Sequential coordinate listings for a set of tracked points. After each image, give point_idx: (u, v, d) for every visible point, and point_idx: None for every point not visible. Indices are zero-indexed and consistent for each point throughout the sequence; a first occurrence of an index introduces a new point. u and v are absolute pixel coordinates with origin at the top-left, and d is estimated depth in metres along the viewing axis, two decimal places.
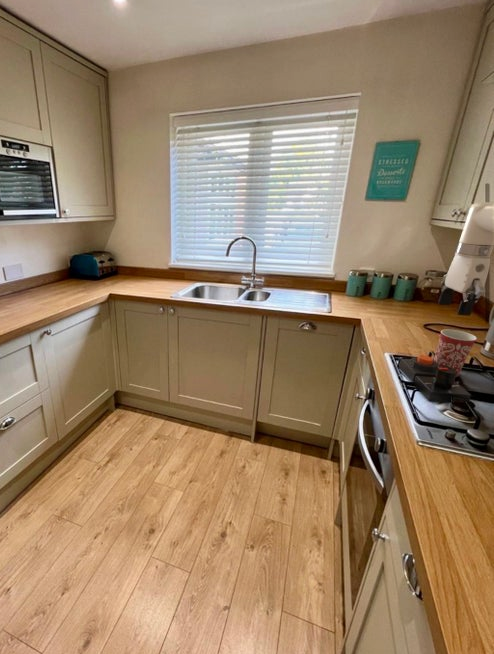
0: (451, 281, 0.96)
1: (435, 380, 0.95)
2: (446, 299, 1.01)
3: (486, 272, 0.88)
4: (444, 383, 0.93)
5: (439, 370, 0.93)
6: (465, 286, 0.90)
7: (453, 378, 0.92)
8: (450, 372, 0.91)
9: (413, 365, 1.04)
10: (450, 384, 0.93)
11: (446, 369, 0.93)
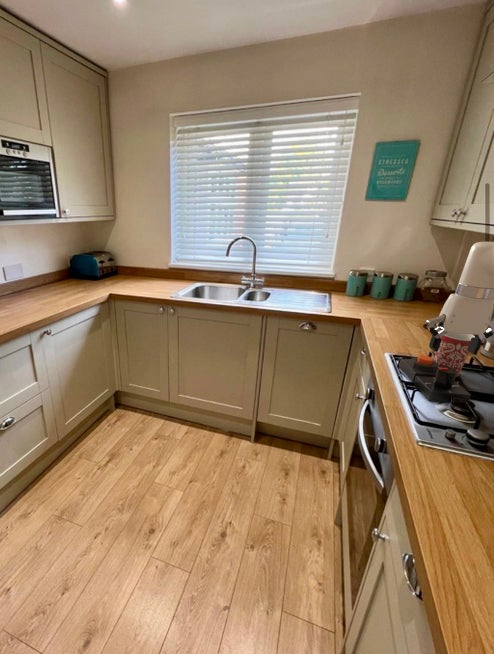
0: (462, 327, 0.87)
1: (435, 380, 0.95)
2: None
3: None
4: (444, 383, 0.93)
5: (439, 370, 0.93)
6: (486, 328, 0.86)
7: (453, 378, 0.92)
8: (450, 372, 0.91)
9: (413, 365, 1.04)
10: (450, 384, 0.93)
11: (446, 369, 0.93)
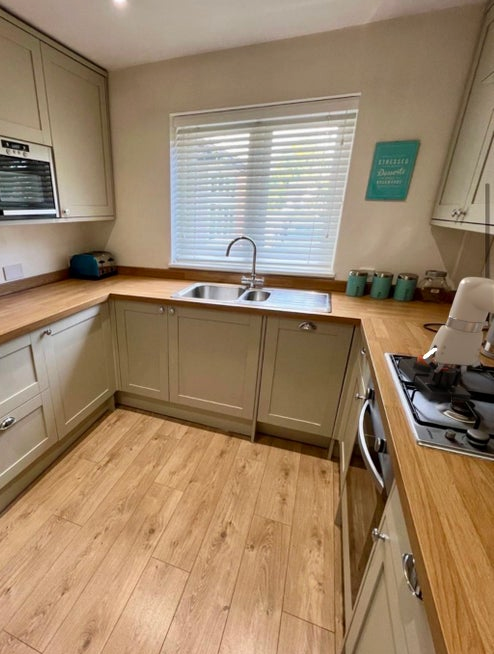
0: (453, 358, 0.89)
1: None
2: None
3: None
4: (444, 383, 0.93)
5: None
6: (476, 359, 0.89)
7: (453, 378, 0.92)
8: (450, 372, 0.91)
9: (413, 365, 1.04)
10: (450, 384, 0.93)
11: (446, 369, 0.93)
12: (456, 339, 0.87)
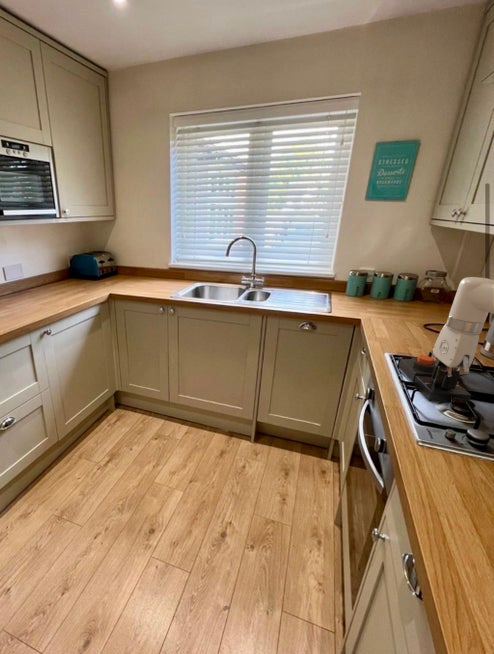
0: None
1: None
2: None
3: None
4: None
5: None
6: None
7: None
8: (456, 370, 0.93)
9: (413, 365, 1.04)
10: None
11: None
12: None
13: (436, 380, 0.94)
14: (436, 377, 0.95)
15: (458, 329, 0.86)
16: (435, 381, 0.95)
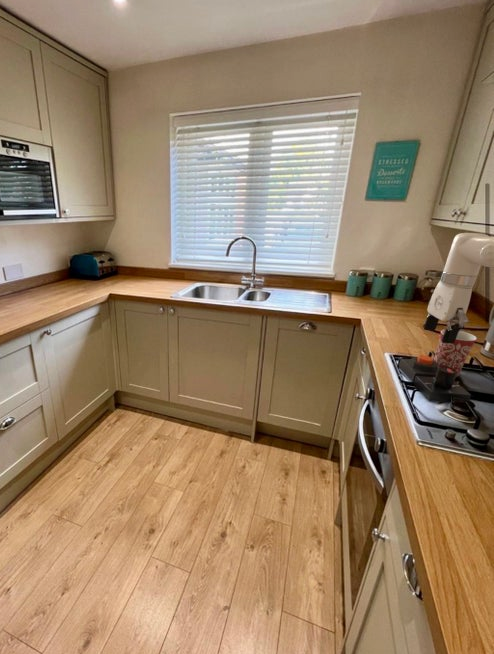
0: None
1: (448, 384, 0.93)
2: None
3: None
4: (453, 382, 0.93)
5: (452, 374, 0.91)
6: None
7: None
8: (456, 370, 0.93)
9: (413, 365, 1.04)
10: None
11: (450, 370, 0.93)
12: None
13: (436, 380, 0.95)
14: (436, 377, 0.95)
15: (452, 283, 0.90)
16: (435, 381, 0.95)
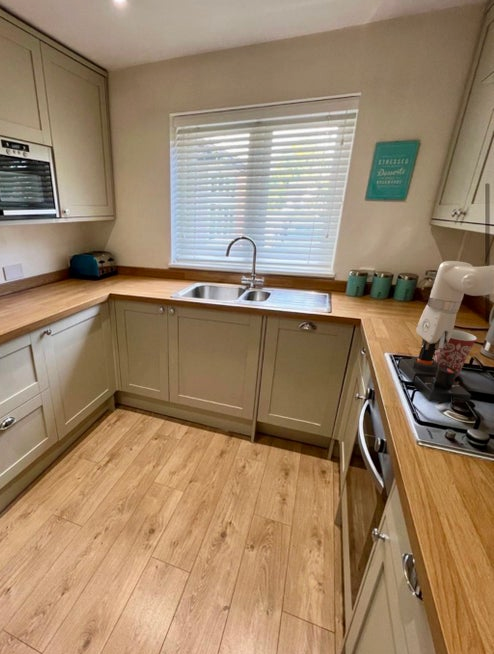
0: None
1: (448, 384, 0.93)
2: None
3: None
4: (453, 382, 0.93)
5: (452, 374, 0.91)
6: None
7: None
8: (456, 370, 0.93)
9: (413, 365, 1.04)
10: None
11: (450, 370, 0.93)
12: None
13: (436, 380, 0.95)
14: (436, 377, 0.95)
15: (438, 308, 0.95)
16: (435, 381, 0.95)
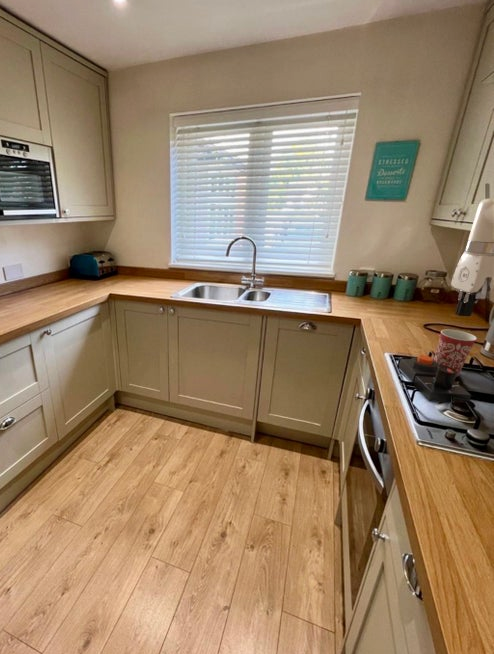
0: None
1: (448, 384, 0.93)
2: None
3: None
4: (453, 382, 0.93)
5: (452, 374, 0.91)
6: None
7: None
8: (456, 370, 0.93)
9: (413, 365, 1.04)
10: None
11: (450, 370, 0.93)
12: None
13: (436, 380, 0.95)
14: (436, 377, 0.95)
15: (479, 252, 0.85)
16: (435, 381, 0.95)
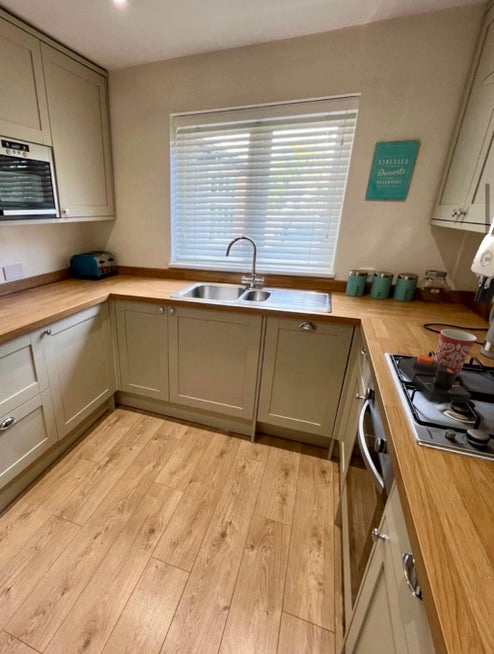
0: None
1: (448, 384, 0.93)
2: None
3: None
4: (453, 382, 0.93)
5: (452, 374, 0.91)
6: None
7: None
8: (456, 370, 0.93)
9: (413, 365, 1.04)
10: None
11: (450, 370, 0.93)
12: None
13: (436, 380, 0.95)
14: (436, 377, 0.95)
15: None
16: (435, 381, 0.95)
